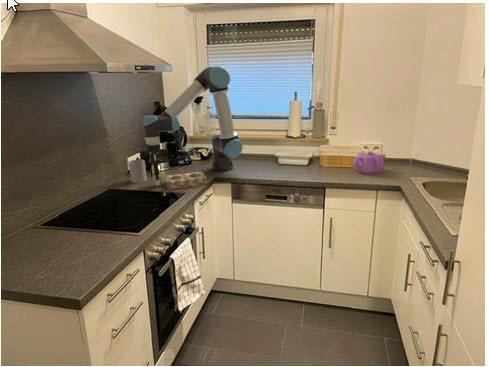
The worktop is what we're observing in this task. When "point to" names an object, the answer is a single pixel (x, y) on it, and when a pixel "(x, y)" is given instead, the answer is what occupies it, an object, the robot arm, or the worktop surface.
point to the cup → (137, 171)
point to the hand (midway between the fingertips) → (157, 183)
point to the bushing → (154, 177)
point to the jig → (185, 180)
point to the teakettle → (369, 163)
